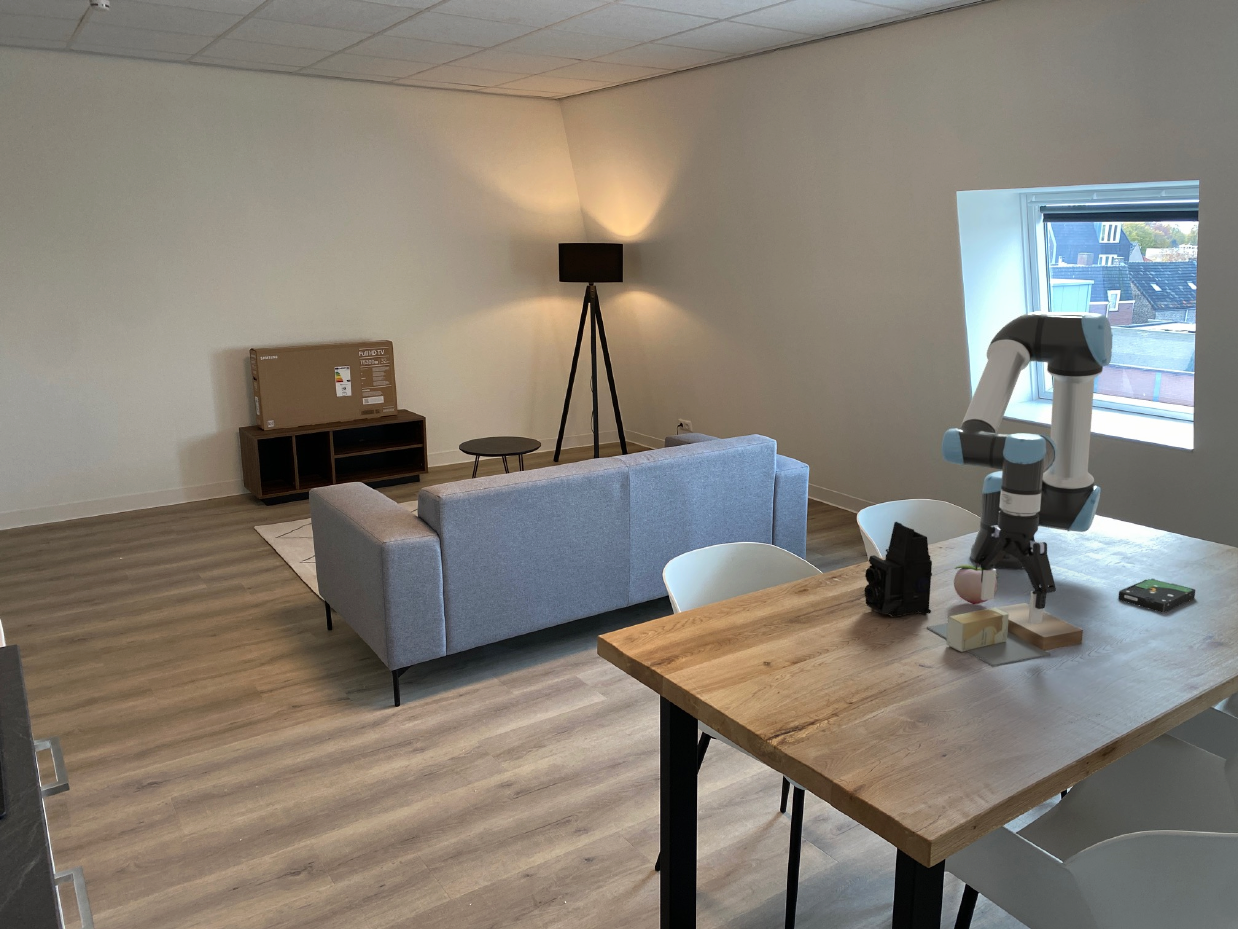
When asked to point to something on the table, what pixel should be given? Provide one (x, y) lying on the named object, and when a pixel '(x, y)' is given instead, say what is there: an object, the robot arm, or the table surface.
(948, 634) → the skincare box
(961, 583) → the decorative fruit
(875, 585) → the camera
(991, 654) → the rubber mat
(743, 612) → the table surface
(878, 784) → the table surface
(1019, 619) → the walnut ledge
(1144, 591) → the disk drive
